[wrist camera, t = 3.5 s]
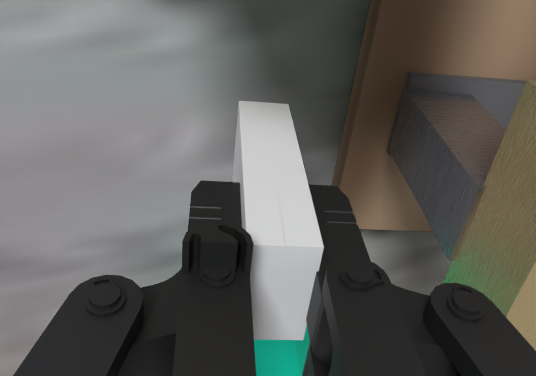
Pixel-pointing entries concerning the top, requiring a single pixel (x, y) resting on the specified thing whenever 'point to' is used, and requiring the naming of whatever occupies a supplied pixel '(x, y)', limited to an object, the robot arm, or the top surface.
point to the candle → (281, 356)
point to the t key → (476, 192)
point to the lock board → (426, 88)
